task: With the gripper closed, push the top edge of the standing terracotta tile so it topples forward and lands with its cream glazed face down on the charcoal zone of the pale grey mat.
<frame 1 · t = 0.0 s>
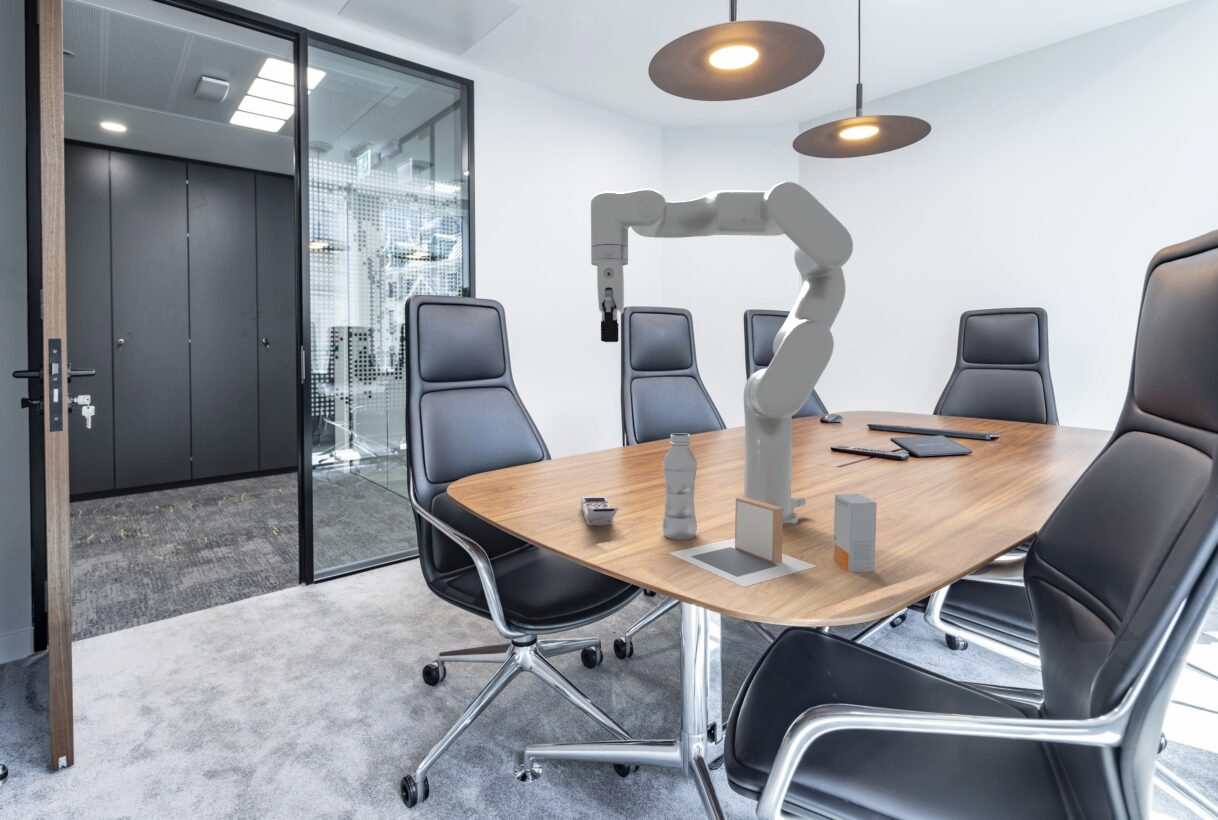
hand: (610, 341, 126), 37 cm above the table, tool pointing down, fingers open, 9 cm apart
mobile phone: (597, 521, 130), on the table
plastic bottle: (679, 541, 115), on the table
skincare box: (852, 572, 99), on the table
mat: (740, 565, 102), on the table
tile: (757, 555, 104), point 1 cm above the table, touching mat
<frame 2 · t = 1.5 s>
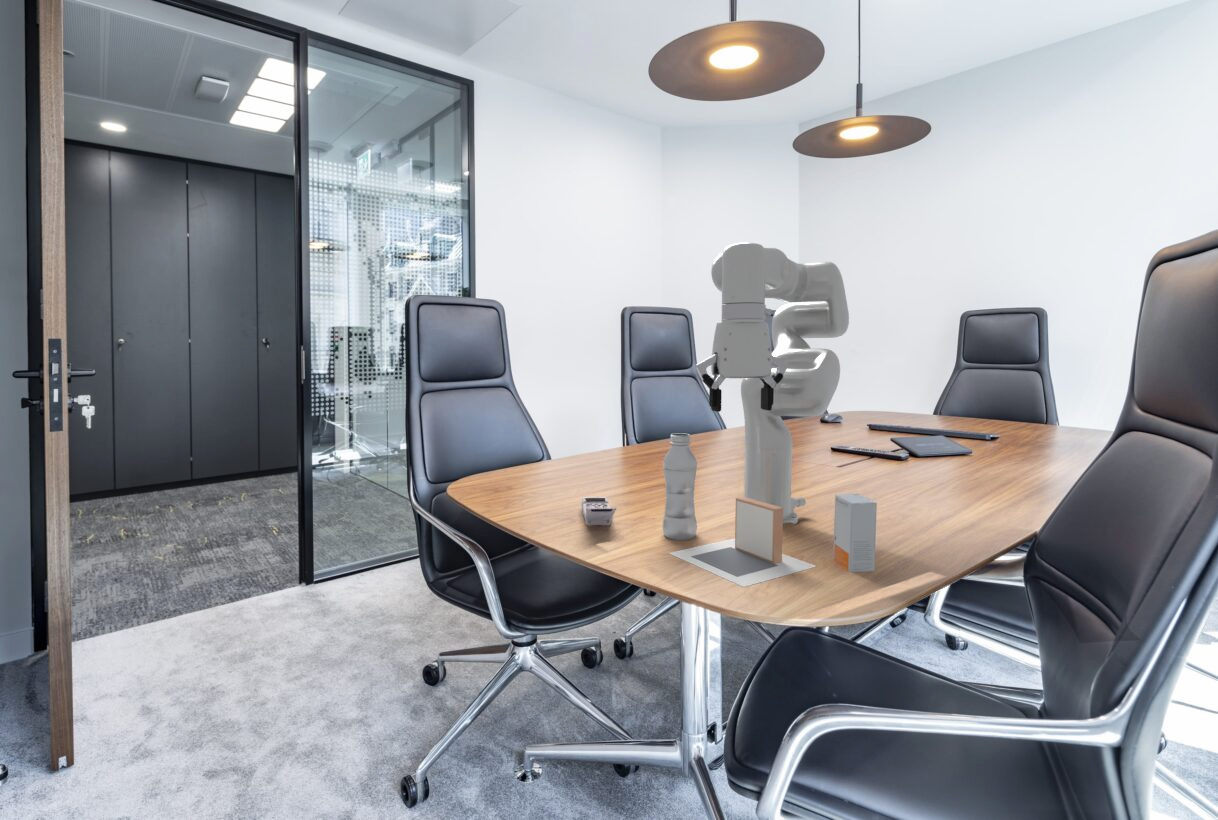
hand: (741, 410, 112), 25 cm above the table, tool pointing down, fingers open, 9 cm apart
nothing on the table moved.
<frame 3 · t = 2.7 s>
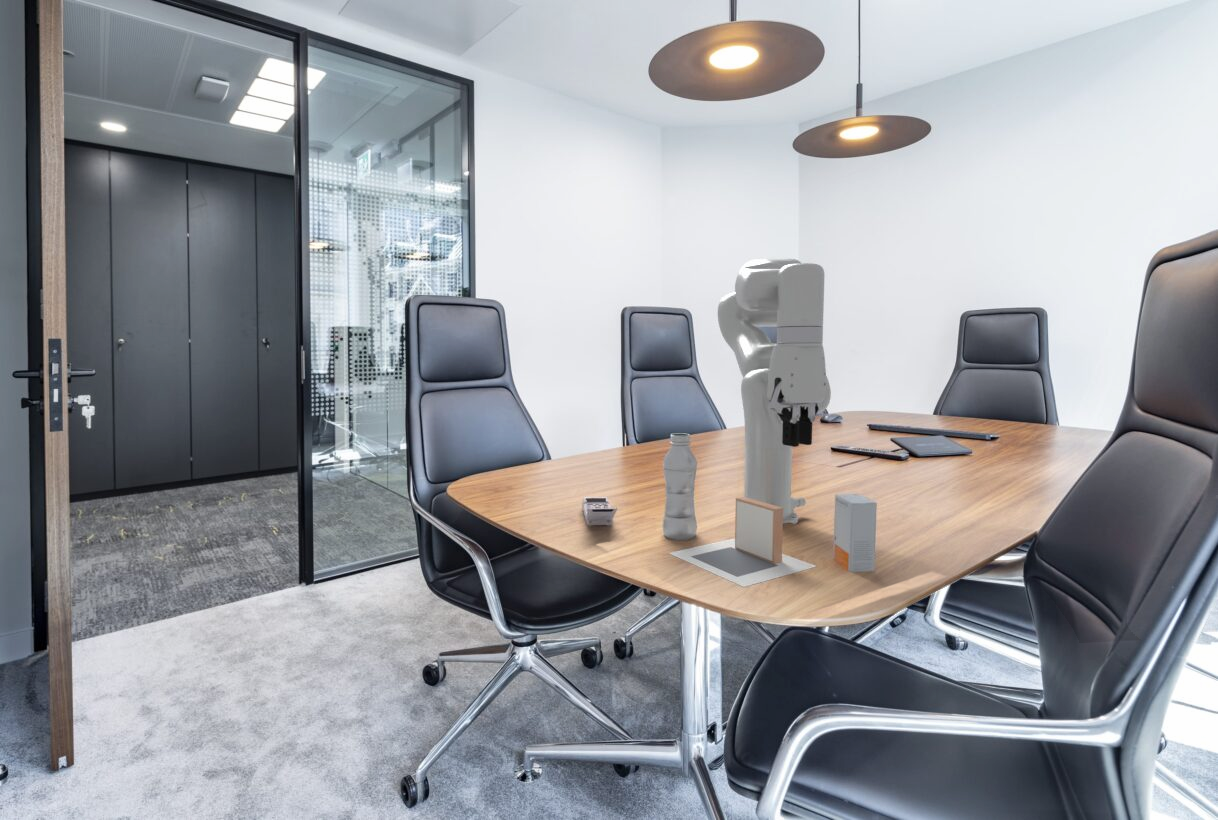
hand: (796, 443, 107), 19 cm above the table, tool pointing down, fingers closed
nothing on the table moved.
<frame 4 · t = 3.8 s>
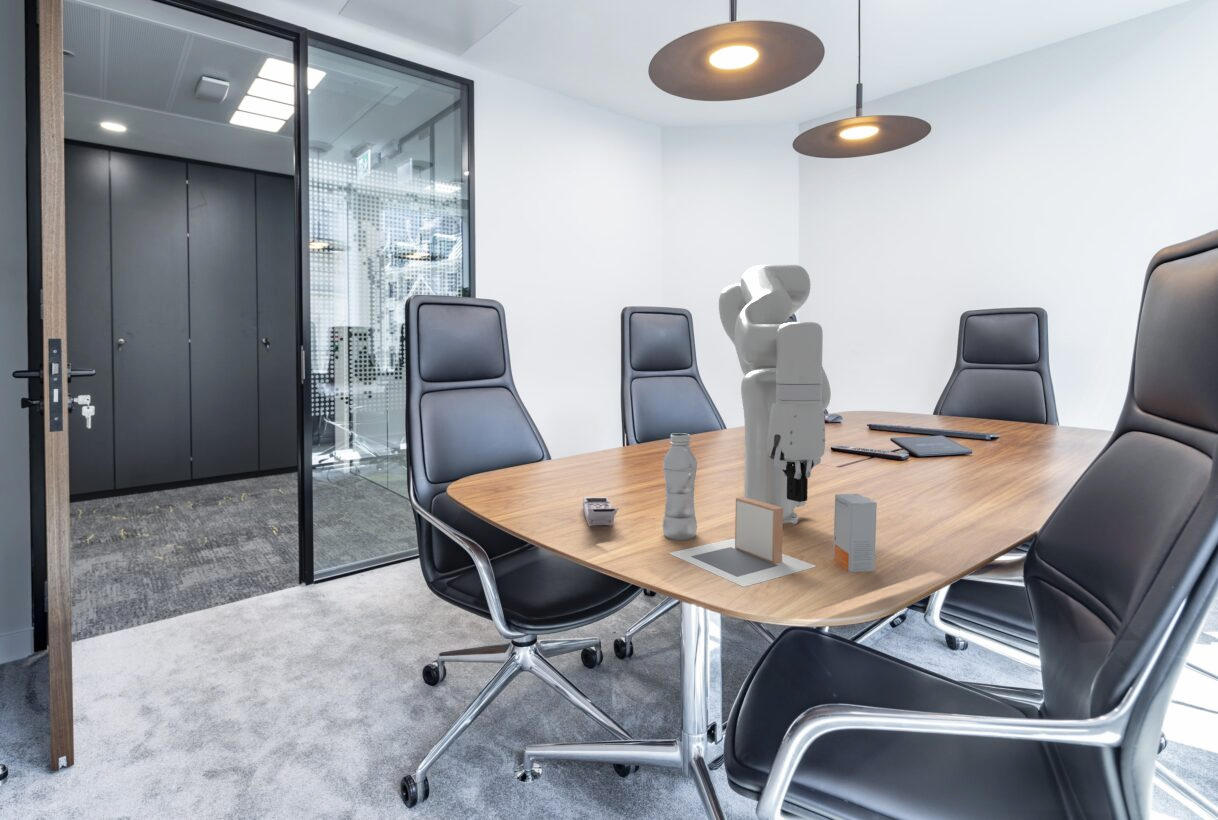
hand: (796, 499, 107), 9 cm above the table, tool pointing down, fingers closed
nothing on the table moved.
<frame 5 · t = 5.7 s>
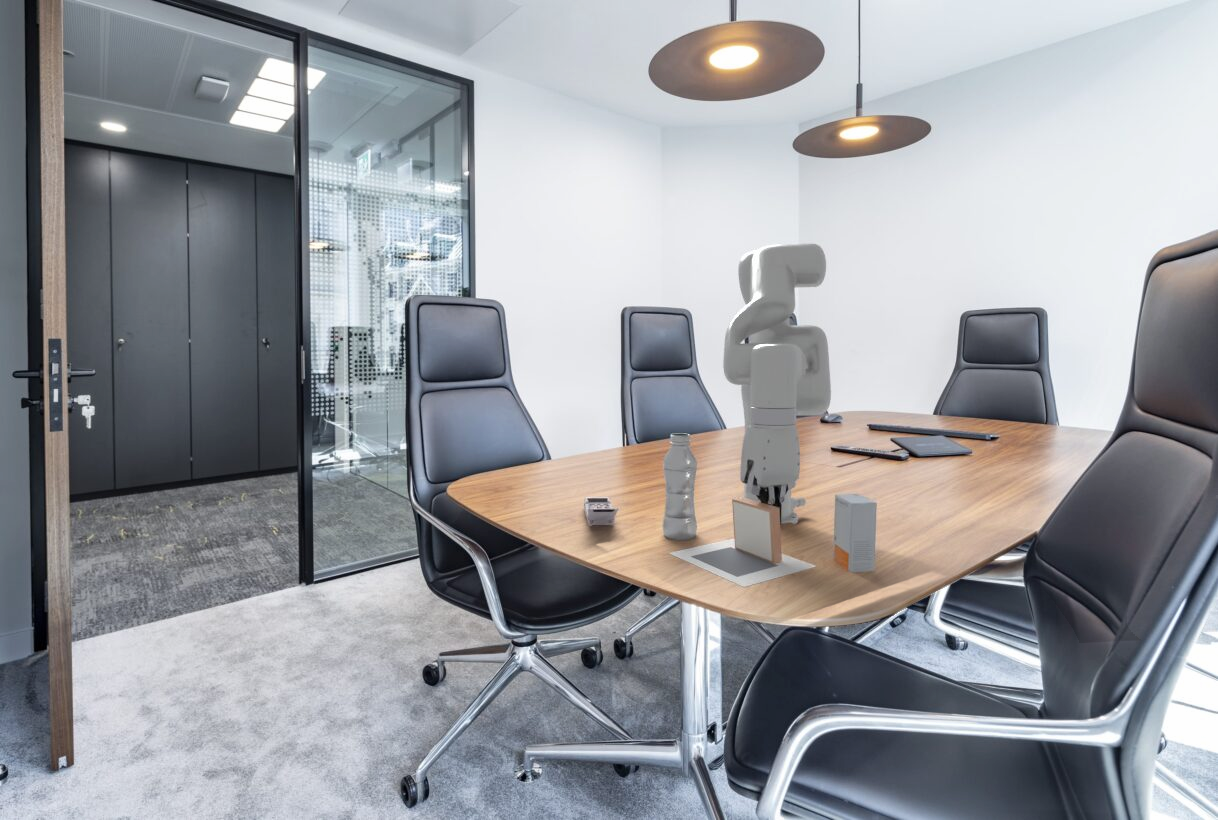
hand: (770, 525, 105), 6 cm above the table, tool pointing down, fingers closed
tile: (757, 554, 104), point 1 cm above the table, tilted 6°, touching mat
everything else where it was.
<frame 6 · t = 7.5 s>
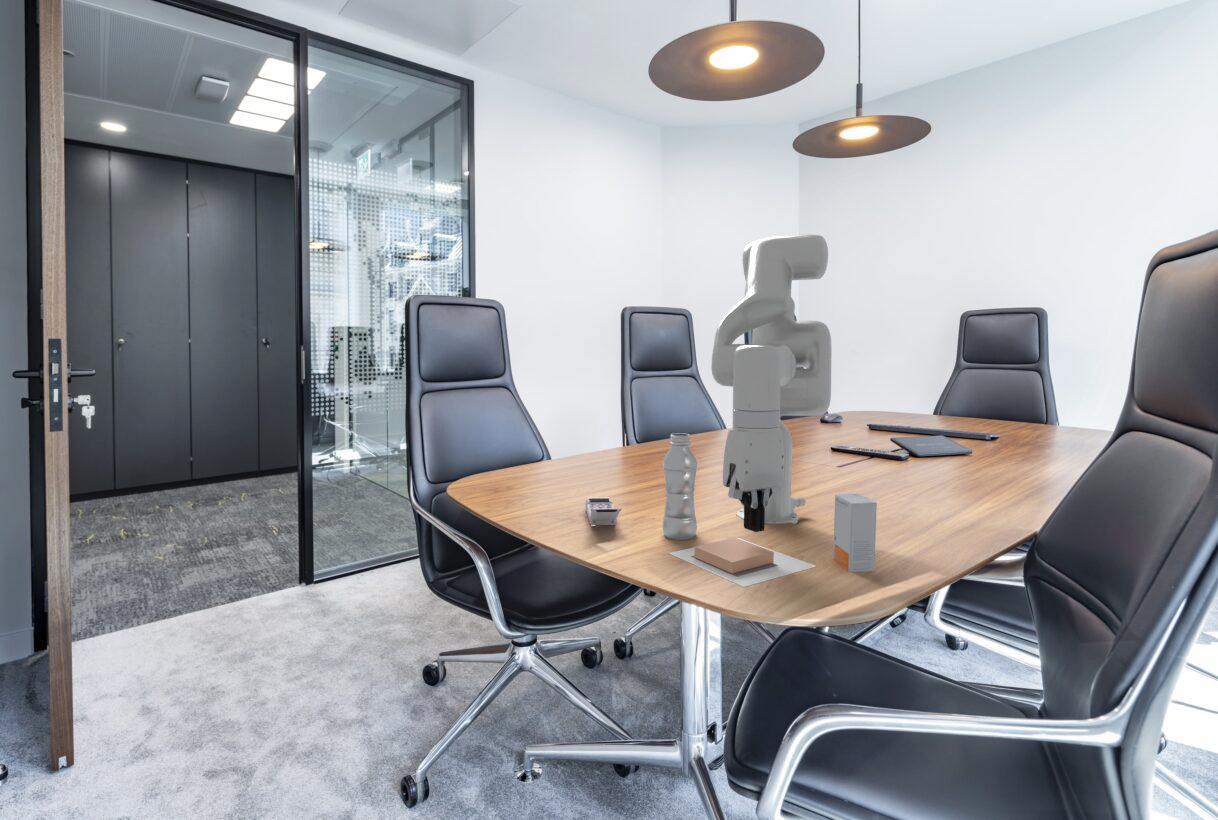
hand: (753, 529, 103), 6 cm above the table, tool pointing down, fingers closed
tile: (753, 549, 103), point 2 cm above the table, tilted 90°, touching mat
everything else where it was.
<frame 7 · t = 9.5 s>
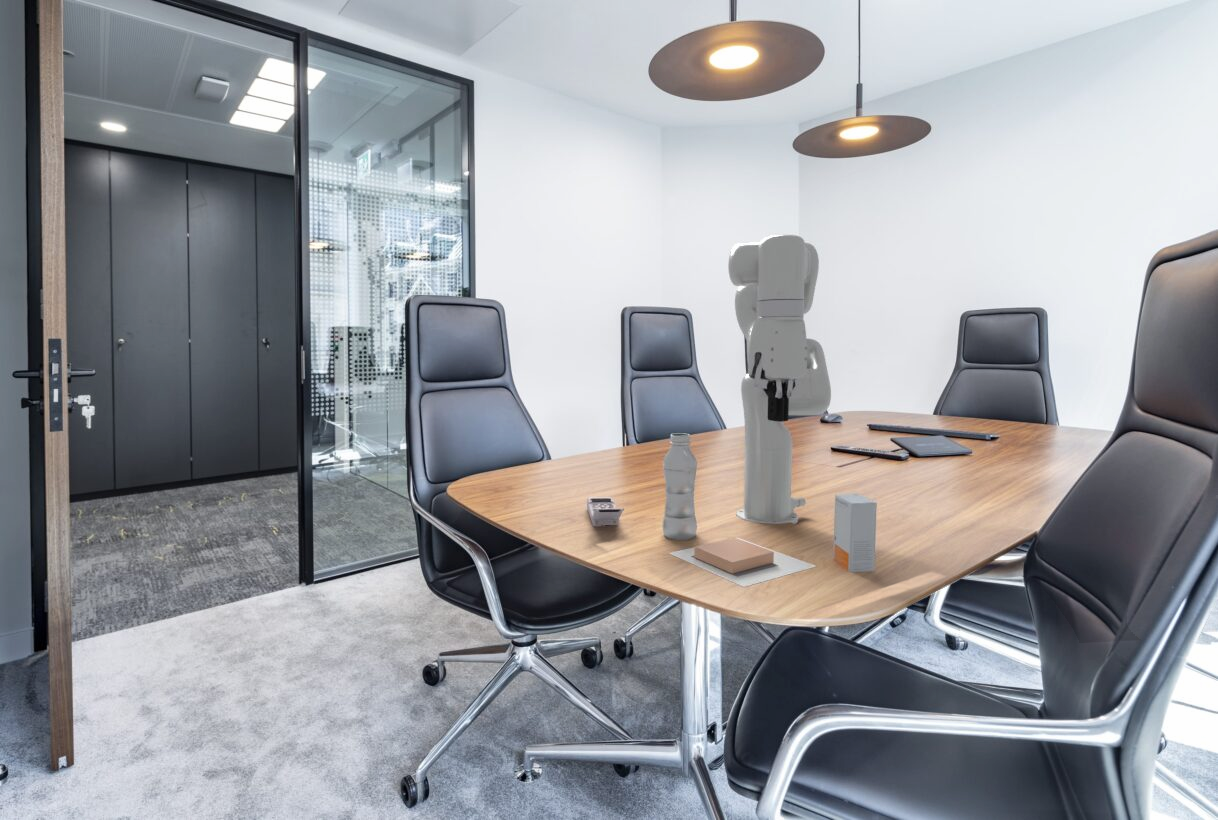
hand: (777, 420, 105), 23 cm above the table, tool pointing down, fingers closed
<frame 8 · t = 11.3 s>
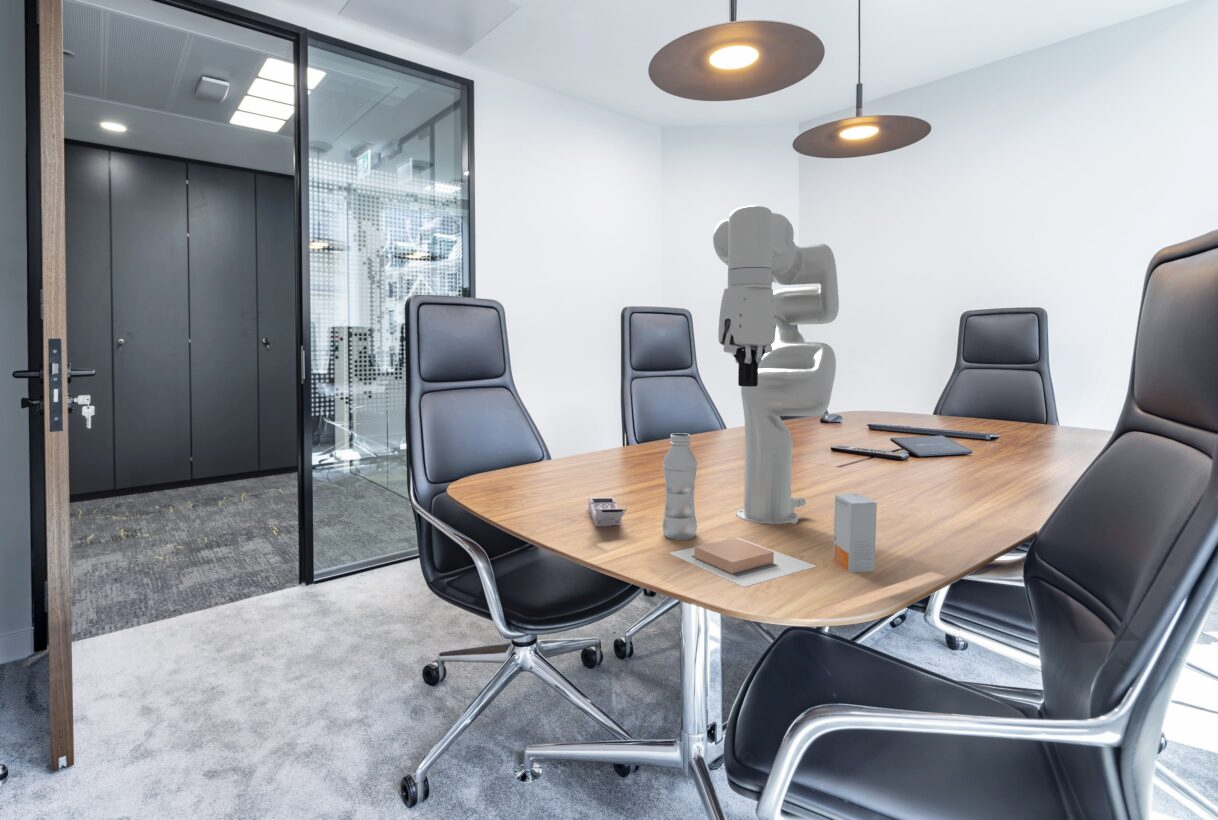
hand: (747, 385, 109), 29 cm above the table, tool pointing down, fingers closed
at the end: tile tilted 90°; tile inside the target area (4.5 cm from its centre), point 2.1 cm above the table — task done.
